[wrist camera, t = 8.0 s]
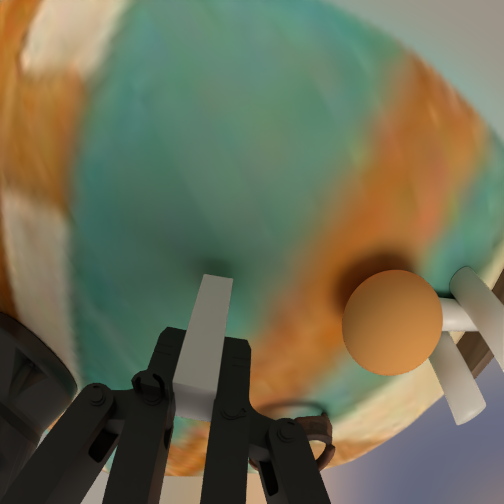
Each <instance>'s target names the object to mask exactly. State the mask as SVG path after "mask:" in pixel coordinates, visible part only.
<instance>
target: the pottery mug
mask: <svg viewBox="0 0 504 504" xmlns="http://www.w3.org/2000/svg"><path fill="white" fill-rule="evenodd" d="M294 420H296V421H297V422H299V423H300V424H301V425H302V427H303V428H304V430H305V433H306V435H307V438H308V441H310V440H319V441H322V442H324V443H326V447H325V449H324V451H323V453H322V454H321V455H320V457H319V458H318V459H316V460H315V461H316V463H317V466H318V469H319V472H320V471H321V470H322V469H323V468H324V467H326V466H327V464H328V463H329V462H330V460H331V459H332V457H333V456H334V453H335V446H333V445H332V425H331V423H330V420H329V418H328V417H327V415H326V414H325V413H322V414H321V416H307V417H297V418H295V419H294ZM248 462H249V464H250V465H251V466H252V467H253V468H254V469H255V470H257V471H258V467H257V464H256V460H255V459H253V458H250V457H249V461H248Z"/></svg>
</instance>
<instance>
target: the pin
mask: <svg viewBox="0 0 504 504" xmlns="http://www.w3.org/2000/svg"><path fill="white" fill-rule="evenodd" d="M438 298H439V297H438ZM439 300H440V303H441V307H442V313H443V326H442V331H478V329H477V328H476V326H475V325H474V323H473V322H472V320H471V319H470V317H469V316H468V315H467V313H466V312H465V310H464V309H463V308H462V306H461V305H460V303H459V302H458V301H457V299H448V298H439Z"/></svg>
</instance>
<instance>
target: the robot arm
mask: <svg viewBox="0 0 504 504" xmlns="http://www.w3.org/2000/svg"><path fill="white" fill-rule="evenodd" d="M232 284H233V279H231V278H225V277H219V276H214V275H208V274H204V276H203V279H202V282H201V285H200V288H199V292H198V295H197V298H196V301H195V305H194V308H193V311H192V315H191V318H190V321H189V325H188V328H187V330H182V329H177V328H172V327H167V328H166V329H165V330H164V331H163V332H162V333H161V334H160V336H159V338H158V341H157V345H156V346H155V349H154V352H153V355H152V357H151V360H150V363H149V366H148V369H147V370H144V371H140V372H138V373H137V374H135V375H134V377H133V378H132V380H131V382H132V385H133V389H130V390H111V389H110V388H108V387H107V386H106V385H104V384H101V383H92V384H89V385H87V386H86V387H85V388H83V390H82V391H81V392H80V393H79V395H78V396H77V397H76V398H75V400H74V401H73V399H74V397H75V394H76V392H77V387H76V384H75V382H74V380H73V378H72V376H71V375H70V373H69V372H68V370H67V369H66V368H65V366H64V365H63V364H62V363H61V362H60V360H59V359H58V358H57V357H56V356H55V355H54V354H53V353H52V352H51V351H50V350H49V349H48V348H47V347H46V346H45V345H44V344H43V343H42V342H41V341H40V340H39V339H38V338H37V337H35V336H34V335H33V334H32V333H31V332H30V331H28V330H27V329H26V328H25V327H23V326H22V325H21V324H19V323H18V322H17V321H15V320H14V319H12V318H11V317H9V316H7V315H5V314H3V313H0V504H80V503H81V502H82V500H83V499H84V497H85V495H86V494H87V492H88V490H89V489H90V487H91V486H92V484H93V483H94V481H95V479H96V477H97V476H98V475H99V473H100V472H101V470H102V468H103V467H104V465H105V464H106V462H107V461H108V459H109V457H110V456H111V454H112V453H113V451H114V450H115V448H116V446H117V445H118V446H117V449H116V452H115V456H114V459H113V463H112V467H111V470H110V474H109V478H108V481H107V485H106V489H105V493H104V498H103V502H102V504H159V500H160V495H161V489H162V483H163V478H164V473H165V468H166V463H167V458H168V453H169V448H170V443H171V438H172V433H173V428H174V426H173V421H174V416H175V414H176V416H180V417H185V418H190V419H196V420H201V421H207V422H211V425H210V432H209V439H208V446H207V454H206V461H205V469H204V476H203V485H202V492H201V500H200V504H246V488H247V470H248V457H250V458H253V459H255V460H256V464H257V467H258V471H259V475H260V479H261V483H262V487H263V490H264V494H265V498H266V501H267V504H331V502H330V499H329V497H328V494H327V491H326V488H325V486H324V483H323V480H322V477H321V474H320V472H319V469H318V466H317V463H316V461H315V458H314V455H313V452H312V449H311V447H310V444H309V441H308V438H307V435H306V433H305V430H304V428H303V427H302V425H301V424H300V423H299V422H297V421H296V420H293V419H290V418H281V419H278V420H273V419H271V418H268V417H265V416H263V415H261V414H259V413H258V412H256V411H255V410H254V409H253V407H252V406H251V404H250V401H249V387H250V366H251V348H250V345H249V343H248V341H247V340H244V339H237V338H231V337H225V330H226V323H227V317H228V310H229V303H230V297H231V290H232ZM72 401H73V402H72ZM66 409H67V410H66ZM65 410H66V411H65ZM64 411H65V412H64ZM63 412H64V414H63V415H62V416H61V417H60V419H59V420H58V421H57V423H56V424H55V425H54V426H53V428H52V429H51V430H50V432H49V433H48V434H47V436H46V437H45V438H44V440H43V441H42V442H41V444H40V445H39V446H38V448H37V445H38V443H39V441H40V438H41V436H42V434H43V432H44V431H45V430H46V429H47V428H48V427H49V426H50V425H51V424H52V423H53V422H54V421H55V420H56V419H57V418H58V417H59V416H60V415H61V414H62V413H63ZM36 448H37V449H36Z"/></svg>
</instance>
